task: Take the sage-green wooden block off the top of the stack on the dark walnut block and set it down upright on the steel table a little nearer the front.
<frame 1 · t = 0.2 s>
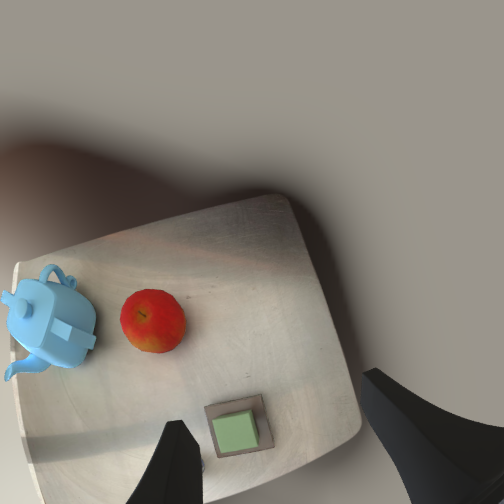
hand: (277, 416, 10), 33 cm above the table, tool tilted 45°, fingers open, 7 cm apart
apple: (169, 330, 44), on the table
teapot: (69, 337, 44), on the table
walnut base: (241, 424, 37), on the table, touching green block
green block: (238, 428, 33), point 4 cm above the table, touching walnut base
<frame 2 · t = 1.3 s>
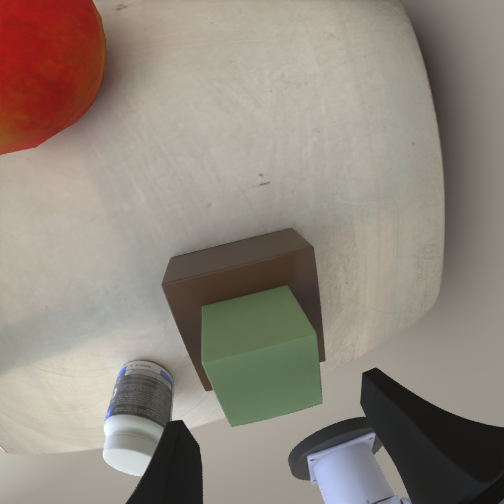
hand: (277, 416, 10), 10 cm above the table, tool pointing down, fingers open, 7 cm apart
apple: (70, 86, 13), on the table
walnut base: (244, 297, 19), on the table, touching green block
pill bottle: (146, 378, 21), on the table
green block: (253, 330, 16), point 4 cm above the table, touching walnut base
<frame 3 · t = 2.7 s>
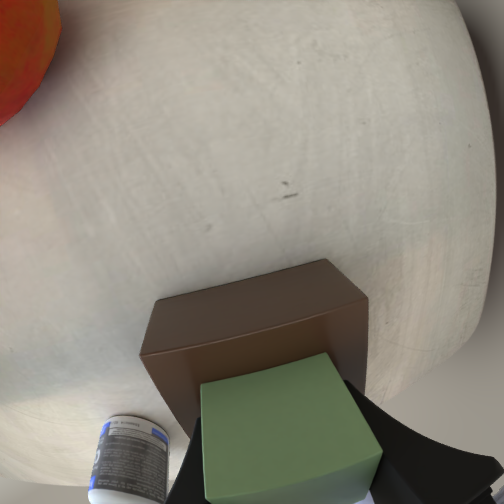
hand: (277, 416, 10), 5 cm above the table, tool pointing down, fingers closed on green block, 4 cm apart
apple: (24, 66, 8), on the table
walnut base: (258, 349, 14), on the table, touching green block
pill bottle: (136, 431, 15), on the table
green block: (274, 407, 10), point 4 cm above the table, touching gripper, walnut base
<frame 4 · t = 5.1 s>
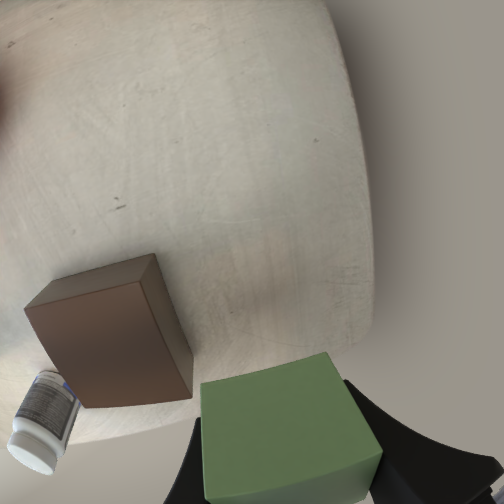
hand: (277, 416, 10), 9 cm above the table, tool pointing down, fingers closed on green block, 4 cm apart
walnut base: (120, 322, 17), on the table
pill bottle: (59, 388, 19), on the table
green block: (273, 407, 10), point 8 cm above the table, touching gripper
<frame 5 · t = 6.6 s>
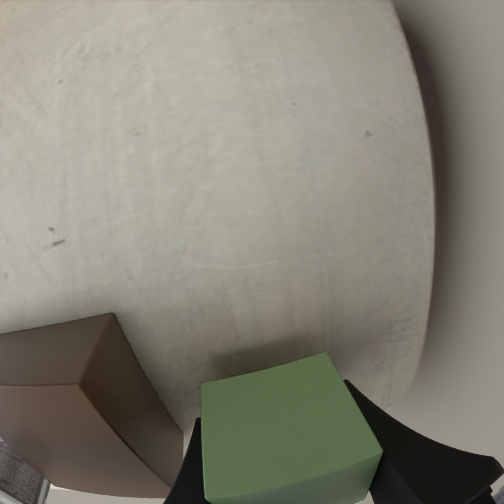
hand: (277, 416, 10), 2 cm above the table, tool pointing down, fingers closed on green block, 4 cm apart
walnut base: (82, 393, 11), on the table
pill bottle: (31, 443, 12), on the table
green block: (273, 407, 10), point 2 cm above the table, touching gripper
when the fingers open (0 cm above the table, at t = 7.6 s): green block stays where it is, on the table.
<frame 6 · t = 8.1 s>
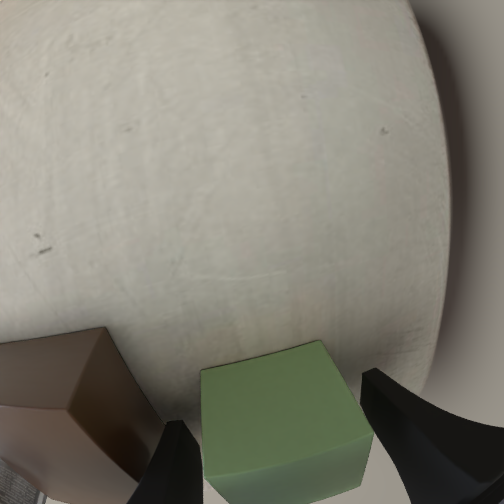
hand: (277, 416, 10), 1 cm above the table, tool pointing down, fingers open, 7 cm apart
walnut base: (76, 407, 10), on the table
pill bottle: (27, 451, 11), on the table
green block: (271, 394, 11), on the table
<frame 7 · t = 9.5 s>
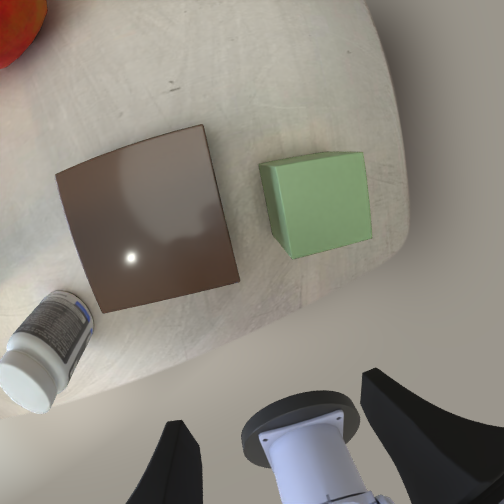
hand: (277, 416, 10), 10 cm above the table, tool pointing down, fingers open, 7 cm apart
apple: (24, 36, 11), on the table
walnut base: (156, 212, 17), on the table
pill bottle: (69, 316, 18), on the table
green block: (300, 192, 18), on the table
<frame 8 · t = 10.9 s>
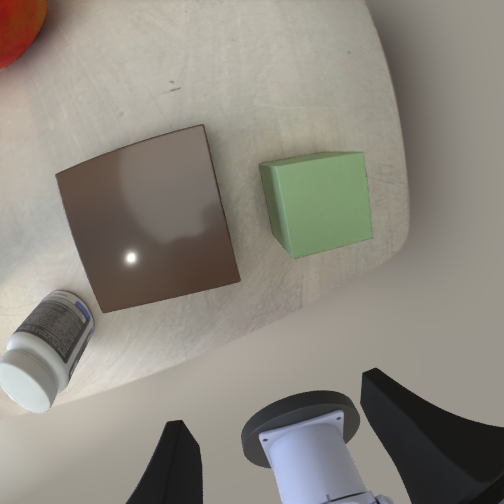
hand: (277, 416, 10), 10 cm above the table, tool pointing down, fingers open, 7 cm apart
apple: (24, 36, 11), on the table
walnut base: (156, 211, 17), on the table
pill bottle: (69, 315, 18), on the table
green block: (301, 192, 18), on the table
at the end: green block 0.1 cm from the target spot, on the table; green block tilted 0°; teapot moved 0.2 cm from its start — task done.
